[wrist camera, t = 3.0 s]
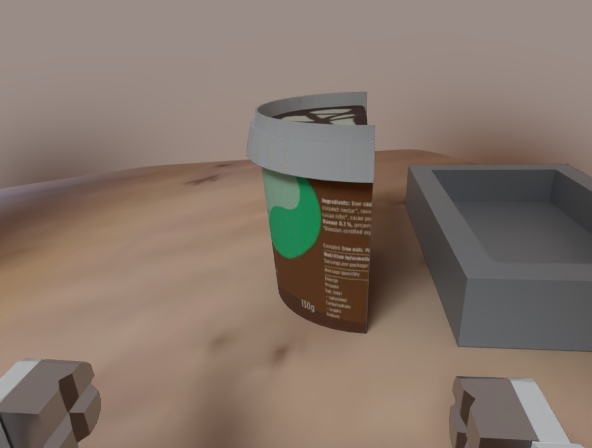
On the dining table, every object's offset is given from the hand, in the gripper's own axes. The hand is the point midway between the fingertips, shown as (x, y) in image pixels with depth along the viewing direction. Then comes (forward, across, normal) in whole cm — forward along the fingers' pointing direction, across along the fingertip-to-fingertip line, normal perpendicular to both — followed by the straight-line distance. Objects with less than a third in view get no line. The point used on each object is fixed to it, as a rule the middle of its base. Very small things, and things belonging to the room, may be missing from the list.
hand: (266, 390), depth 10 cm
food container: (+15, 0, +6) cm, 16 cm away
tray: (+18, -13, +6) cm, 23 cm away
